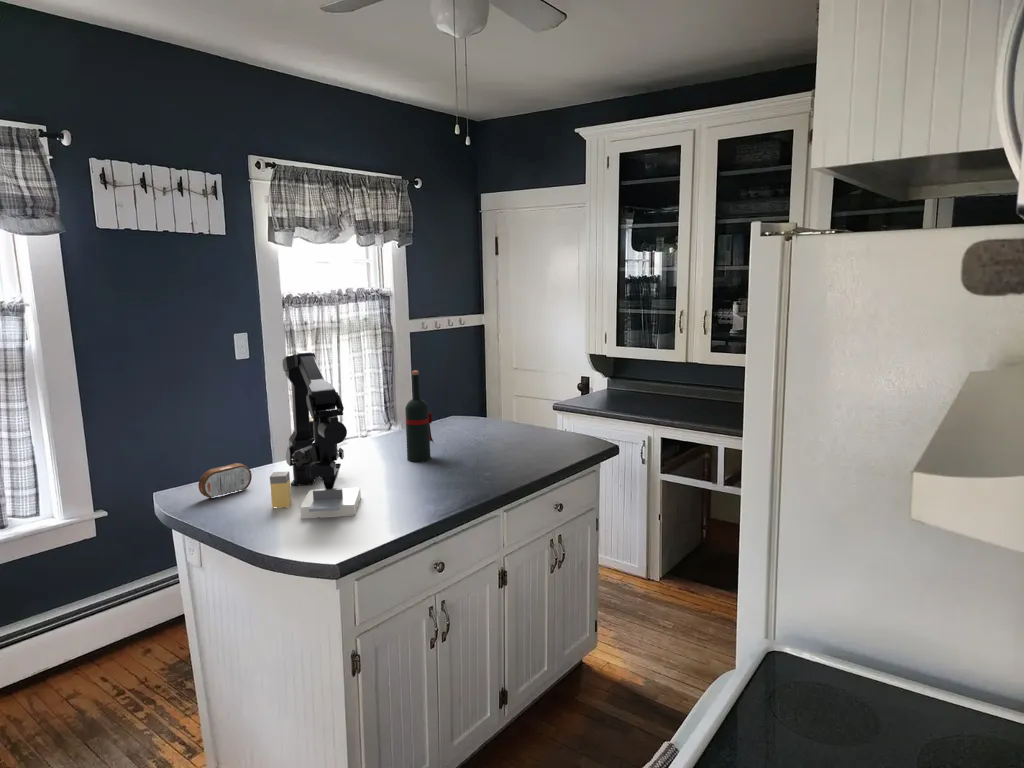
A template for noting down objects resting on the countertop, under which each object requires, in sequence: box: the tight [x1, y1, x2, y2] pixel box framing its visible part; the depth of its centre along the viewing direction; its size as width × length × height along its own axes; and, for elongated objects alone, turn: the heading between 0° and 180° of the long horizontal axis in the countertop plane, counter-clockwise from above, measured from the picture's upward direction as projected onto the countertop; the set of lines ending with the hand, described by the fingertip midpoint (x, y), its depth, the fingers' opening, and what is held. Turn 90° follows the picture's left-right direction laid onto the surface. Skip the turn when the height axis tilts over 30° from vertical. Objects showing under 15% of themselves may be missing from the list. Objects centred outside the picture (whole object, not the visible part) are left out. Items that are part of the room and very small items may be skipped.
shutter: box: [309, 487, 343, 512], centre depth 175 cm, size 7×7×3 cm
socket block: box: [299, 487, 362, 519], centre depth 183 cm, size 14×14×3 cm
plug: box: [269, 471, 292, 509], centre depth 185 cm, size 4×4×9 cm
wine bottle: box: [405, 370, 434, 463], centre depth 226 cm, size 8×10×30 cm
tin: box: [197, 462, 253, 499], centre depth 195 cm, size 15×3×8 cm, turn 141°
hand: (329, 493), depth 179 cm, fingers closed
